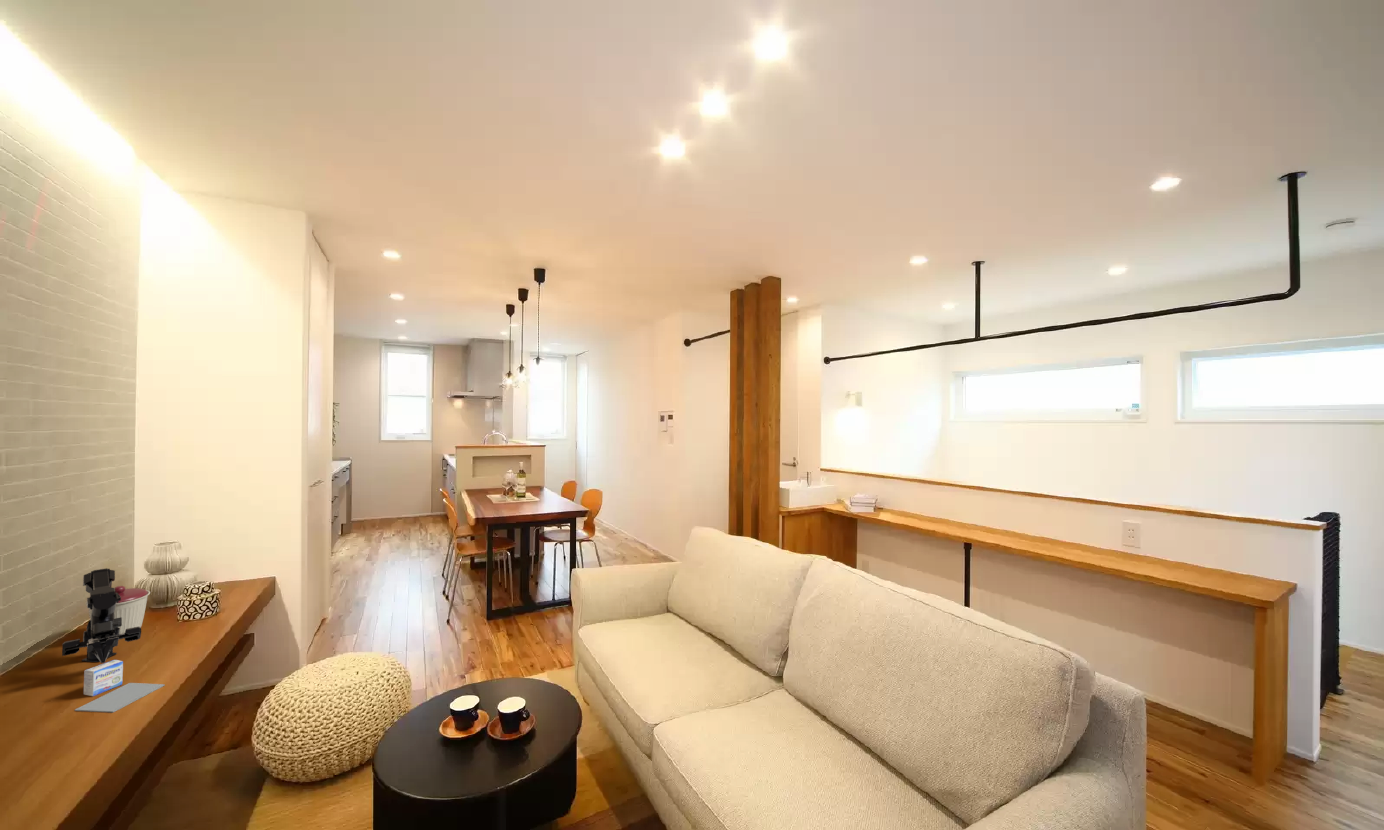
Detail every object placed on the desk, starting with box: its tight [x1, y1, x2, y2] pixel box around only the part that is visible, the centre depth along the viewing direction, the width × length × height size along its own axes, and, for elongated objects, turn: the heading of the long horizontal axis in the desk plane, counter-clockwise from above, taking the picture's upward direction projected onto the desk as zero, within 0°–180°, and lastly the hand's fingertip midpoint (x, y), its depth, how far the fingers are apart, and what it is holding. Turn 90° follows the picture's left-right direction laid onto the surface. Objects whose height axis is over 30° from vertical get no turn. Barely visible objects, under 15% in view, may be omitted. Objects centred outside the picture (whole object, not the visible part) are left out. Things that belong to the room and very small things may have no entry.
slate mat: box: [74, 682, 165, 714], centre depth 171 cm, size 12×16×1 cm
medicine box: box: [83, 659, 124, 697], centre depth 175 cm, size 8×4×9 cm, turn 168°
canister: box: [85, 585, 151, 634], centre depth 213 cm, size 18×18×21 cm
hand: (103, 662), depth 180 cm, fingers closed
